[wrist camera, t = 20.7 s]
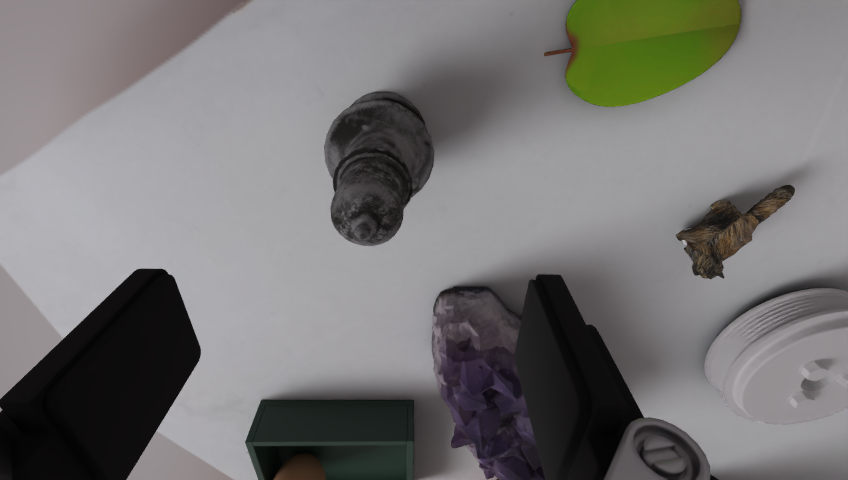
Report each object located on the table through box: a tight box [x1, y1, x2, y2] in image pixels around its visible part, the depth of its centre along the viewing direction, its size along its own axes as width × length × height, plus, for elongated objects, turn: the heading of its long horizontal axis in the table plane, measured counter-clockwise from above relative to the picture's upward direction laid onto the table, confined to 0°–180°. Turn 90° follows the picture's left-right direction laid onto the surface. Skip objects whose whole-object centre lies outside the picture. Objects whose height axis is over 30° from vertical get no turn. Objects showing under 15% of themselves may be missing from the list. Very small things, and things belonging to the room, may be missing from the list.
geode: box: [432, 287, 545, 480], centre depth 31 cm, size 20×12×10 cm, turn 38°
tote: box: [245, 400, 414, 480], centre depth 39 cm, size 14×14×4 cm
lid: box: [704, 288, 848, 424], centre depth 32 cm, size 13×13×5 cm
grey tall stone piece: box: [324, 92, 434, 246], centre depth 19 cm, size 6×6×12 cm
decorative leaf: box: [544, 0, 741, 107], centre depth 21 cm, size 8×9×1 cm
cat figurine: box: [676, 185, 795, 279], centre depth 26 cm, size 3×8×4 cm, turn 131°
